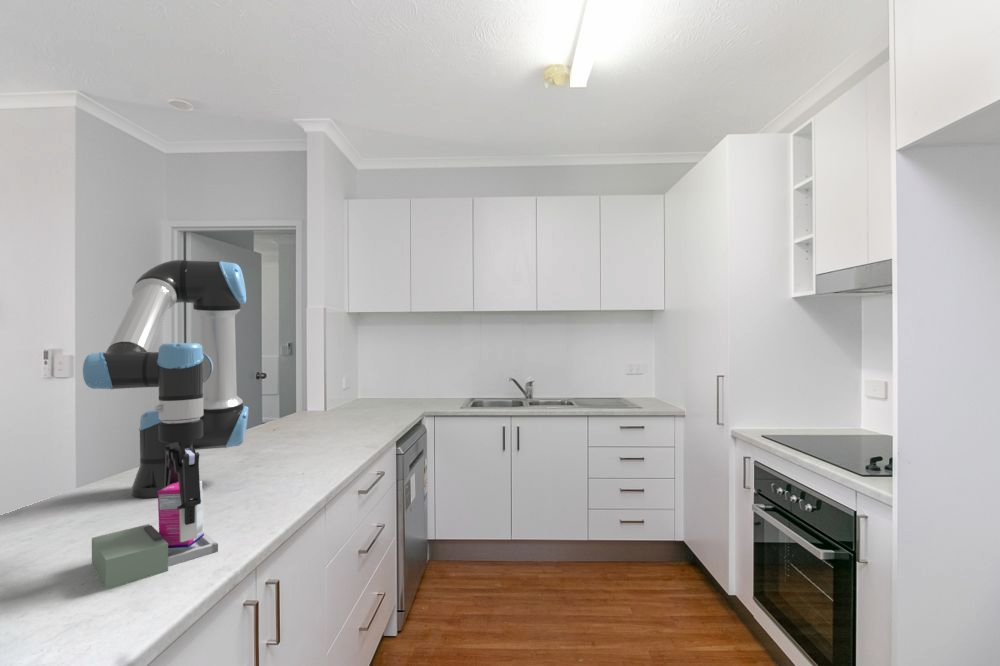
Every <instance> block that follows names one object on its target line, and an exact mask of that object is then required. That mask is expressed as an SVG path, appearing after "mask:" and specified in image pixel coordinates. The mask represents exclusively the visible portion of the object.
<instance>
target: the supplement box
mask: <svg viewBox="0 0 1000 666" xmlns="http://www.w3.org/2000/svg"><path fill="white" fill-rule="evenodd" d="M200 498H201V503H200V504H198V505H197V538H195V539H191V540H188V541H184V542H180V509H179V510H178V509H177V507H178V506H180V505H181V497H180V489H179V482H175V483H172V484H170V485H168V486H167V487H165V488H163V489H161V490H159V491H158V497H157V504H158V505H157V508H158V509H157V510H158V513H157V514H158V532H159V533H160V534H161V535H162V538H163V539H164V540H165V541H166V542H167V543H168V548H186V547H190V546H191V545H193V544H194V543H195V542H196V541H198V540H199V539H200V538H201V537H203V536H204V533H205V531H204V500H203V498H204V497H203V481H202V480H200ZM190 500H191V499H190Z"/></svg>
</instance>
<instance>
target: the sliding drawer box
mask: <svg viewBox="0 0 1000 666" xmlns="http://www.w3.org/2000/svg"><path fill="white" fill-rule="evenodd" d="M216 552H219V544H218V542H216V540H214V539H213V538H211V537H210V535H208V534H207V533H205V532H204V536H203V537H201V538H200V539H199V540H198V541H196V542H195V543H194V544H193V545H191V546H190V547H186V548H168V543H167V542H166V541H165V540H164V539H163V538H162V535H161V534H160V533H159V530H157V529H156V528H155V527H154V526H153V525H151V524H150V523H147V524H144V525H140V526H135V527H131V528H125V529H123V530H119V531H115V532H111V533H106V534H102V535H98V536H95V537H91V565H92V567H93V569H94V571H95V573H96V574H97V576H98V578H99V580H100V581H101V583H102V585H103V587H104V589H105V590H110V589H113V588H116V587H119V586H122V585H125V584H130V583H133V582H135V581H136V582H137V581H139V580H142V579H145V578H149V577H151V576H155V575H158V574H163V573H164V572H165V573H166V572H168V571H169V567H170V566H174V565H177V564H180V563H183V562H188V561H190V560H194V559H197V558H201V557H203V556H206V555H210V554H214V553H216Z"/></svg>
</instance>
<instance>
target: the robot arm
mask: <svg viewBox="0 0 1000 666" xmlns="http://www.w3.org/2000/svg"><path fill="white" fill-rule="evenodd" d="M131 294H132V300H131V302H130V304H129V307H128V308H127V311H126V312H125V314H124V316H123V318H122V320H121V322H120V323H119V326H118V328H117V329H116V332H115V334H114V335H113V338H112V340H111V342H110V343H109V345H108V348H107V350H106V351H105V352H103V351H101V352H94V353H90V354H88V355H87V356H86V357H85V359H84V360H83V366H82V378H83V381H84V384H85V385H86V386H87V387H88V388H90V389H92V390H93V389H94V390H95V389H96V390H98V389H99V390H101V389H102V390H119V389H121V390H122V389H137V388H139V389H140V388H141V389H142V388H158V405H155V409H151V410H148V411H145V412H144V413H142V414H141V415H140V420H139V429H138V431H139V466H138V470H137V474H136V475H135V479H134V481H133V484H132V487H131V494H132V496H133V497H135V498H145V499H147V498H149V499H150V498H151V499H152V498H158V491H159V490H161V489H163V488H165V487H167V486H168V485H170V484H172V483H175V482H179V489H180V497H181V505H180V506H178V507H177V509H178V510H179V509H180V542H184V541H188V540H191V539H195V538H197V505H198V504H200V503H201V498H200V481H201V480H200V466H199V463H200V453H199V452H198V450H199V451H200V450H210V449H211V450H213V449H227V448H233V447H240V446H241V445H242V444H244V440H245V436H246V432H247V426H248V419H249V418H248V417H249V409H250V407H248V406H246V405H244V402H243V399H242V398H240V396H238V392H237V390H238V388H237V387H238V386H237V355H236V354H237V352H236V351H237V350H236V348H237V347H236V346H237V345H236V321H235V320H236V315H237V314H238V313H239V312H240V311H241V309H242V308H241V305H243V304H246V302H247V291H246V283H245V279H244V274H243V271H242V269H241V267H240V266H239V264H238V263H235V262H228V261H227V262H226V261H221V260H220V261H213V260H212V261H211V260H209V261H206V260H186V259H185V260H184V259H176V260H169V261H165V262H163V263H160V264H158V265H155V266H154V267H152V268H151V269H149V270H147V271H146V272H144V273H143V274H142V275H141V276H140V277H139V278H138V279H137V280H136V281H135V284H134V285H133V288H132V291H131ZM177 303H179V304H180V303H184V304H185V303H189V304H192V305H193V311H195V312H196V313H197V314H198V315H199V320H200V325H199V326H200V343H199V342H184V343H183V342H174V343H173V342H172V343H170V342H169V343H167V342H166V343H162V344H161V345H160V346H159V347H158V351H153V352H152V350H153V348H154V345H155V343H156V340H157V337H158V335H159V333H160V330H161V328H162V326H163V323H164V320H165V317H166V315H167V312H168V310H169V309H171V308H173V306H175V304H177ZM196 451H197V452H196ZM190 499H191V500H190Z"/></svg>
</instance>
